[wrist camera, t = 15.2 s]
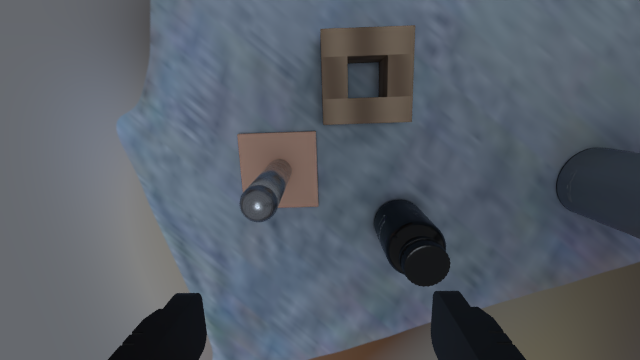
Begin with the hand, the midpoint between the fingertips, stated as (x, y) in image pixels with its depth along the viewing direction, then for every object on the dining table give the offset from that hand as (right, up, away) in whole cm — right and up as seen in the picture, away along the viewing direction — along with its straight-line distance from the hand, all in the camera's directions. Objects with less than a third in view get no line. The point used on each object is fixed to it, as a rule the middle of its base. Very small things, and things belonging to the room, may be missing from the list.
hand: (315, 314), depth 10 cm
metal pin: (-5, +6, +29) cm, 30 cm away
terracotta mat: (-5, +6, +30) cm, 31 cm away
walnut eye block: (+5, +17, +27) cm, 33 cm away
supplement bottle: (+11, -1, +32) cm, 33 cm away
